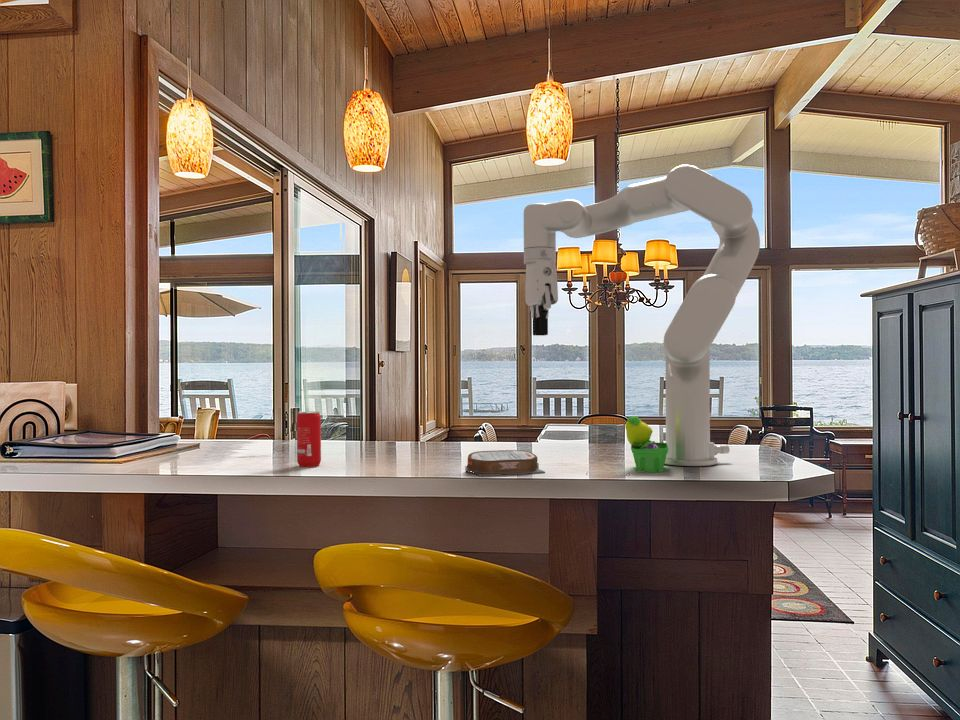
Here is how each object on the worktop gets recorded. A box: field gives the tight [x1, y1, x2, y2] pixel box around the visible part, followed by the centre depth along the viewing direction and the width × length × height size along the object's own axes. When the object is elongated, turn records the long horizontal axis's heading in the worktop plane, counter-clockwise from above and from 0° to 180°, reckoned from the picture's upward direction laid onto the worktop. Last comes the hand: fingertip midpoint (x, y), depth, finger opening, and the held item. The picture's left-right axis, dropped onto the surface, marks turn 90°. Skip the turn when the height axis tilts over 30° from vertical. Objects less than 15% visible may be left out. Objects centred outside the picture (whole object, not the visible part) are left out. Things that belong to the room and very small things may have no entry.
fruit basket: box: [624, 415, 669, 473], centre depth 164 cm, size 11×9×11 cm
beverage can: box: [296, 410, 322, 468], centre depth 172 cm, size 5×5×12 cm
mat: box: [464, 462, 546, 476], centre depth 160 cm, size 16×7×1 cm, turn 107°
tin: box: [466, 449, 538, 474], centre depth 161 cm, size 15×3×8 cm
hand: (540, 335), depth 181 cm, fingers closed
